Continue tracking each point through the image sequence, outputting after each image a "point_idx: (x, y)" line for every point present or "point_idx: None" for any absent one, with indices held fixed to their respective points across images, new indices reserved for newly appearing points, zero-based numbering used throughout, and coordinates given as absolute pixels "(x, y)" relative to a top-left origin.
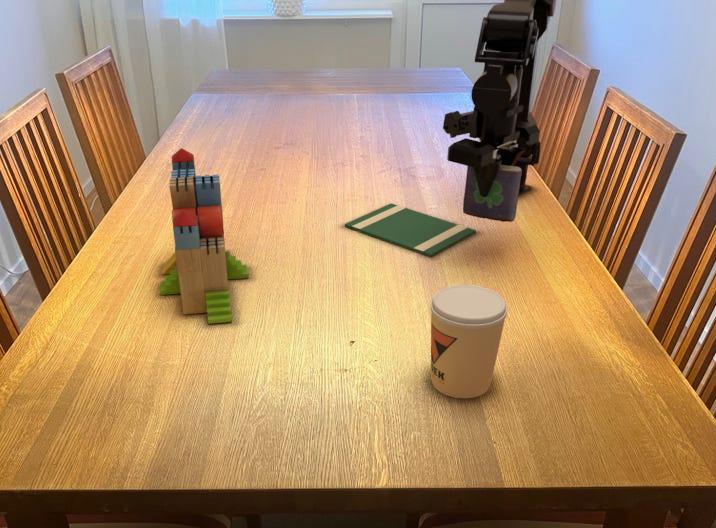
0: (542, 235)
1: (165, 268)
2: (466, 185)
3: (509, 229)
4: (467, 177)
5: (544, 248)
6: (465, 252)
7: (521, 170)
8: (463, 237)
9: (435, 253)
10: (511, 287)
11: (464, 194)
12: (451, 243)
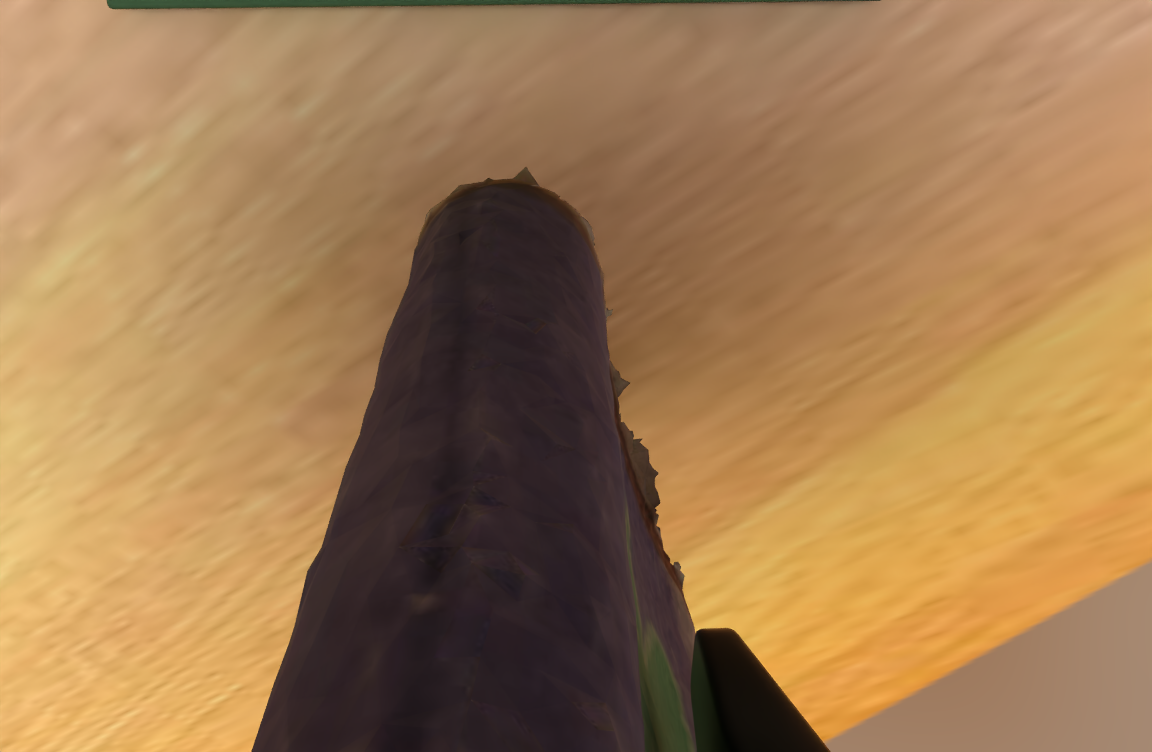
0: (1099, 414)
1: None
2: (357, 442)
3: (1110, 183)
4: (315, 575)
5: (884, 514)
6: (451, 170)
7: None
8: (659, 2)
9: (182, 7)
10: (272, 620)
11: (421, 295)
12: (449, 4)
